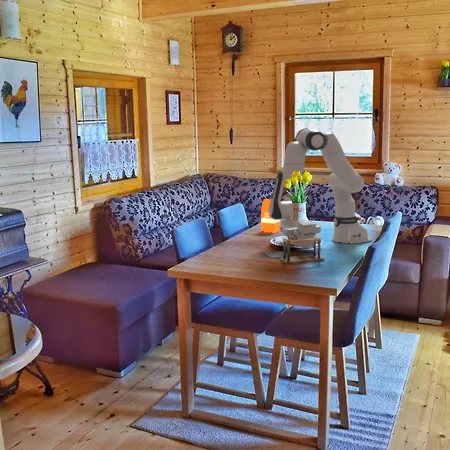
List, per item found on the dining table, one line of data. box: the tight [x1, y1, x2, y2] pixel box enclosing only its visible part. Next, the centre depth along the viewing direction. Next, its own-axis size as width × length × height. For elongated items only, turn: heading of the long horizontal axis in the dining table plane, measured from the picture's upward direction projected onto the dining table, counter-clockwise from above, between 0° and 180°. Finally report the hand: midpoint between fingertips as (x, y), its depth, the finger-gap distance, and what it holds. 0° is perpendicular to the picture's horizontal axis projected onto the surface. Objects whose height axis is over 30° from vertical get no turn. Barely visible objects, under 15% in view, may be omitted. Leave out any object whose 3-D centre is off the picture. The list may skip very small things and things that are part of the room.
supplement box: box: [296, 220, 317, 250], centre depth 286 cm, size 7×7×13 cm
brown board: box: [279, 254, 325, 265], centre depth 273 cm, size 20×8×1 cm, turn 105°
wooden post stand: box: [282, 235, 322, 261], centre depth 272 cm, size 17×6×10 cm, turn 105°
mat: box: [263, 250, 287, 259], centre depth 284 cm, size 10×10×1 cm
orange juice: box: [260, 198, 280, 234], centre depth 342 cm, size 8×9×20 cm
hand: (307, 233), depth 285 cm, fingers closed on supplement box, 7 cm apart
